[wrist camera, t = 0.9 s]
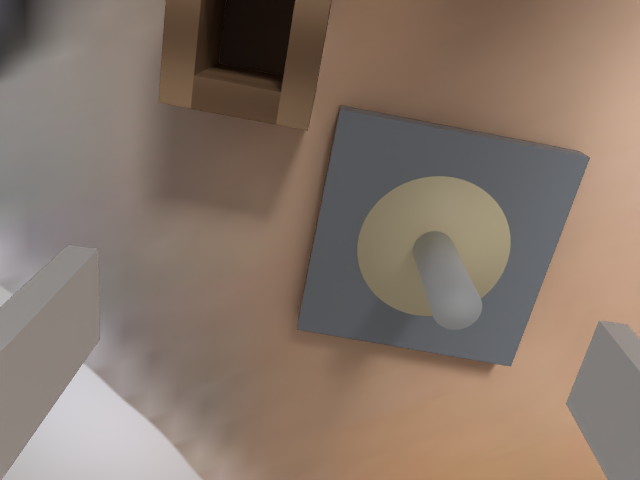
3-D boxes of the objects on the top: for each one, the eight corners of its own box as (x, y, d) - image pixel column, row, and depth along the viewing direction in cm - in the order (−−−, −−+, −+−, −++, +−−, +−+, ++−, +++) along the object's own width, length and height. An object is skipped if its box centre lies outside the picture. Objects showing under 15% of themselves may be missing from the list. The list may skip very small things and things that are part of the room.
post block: (340, 105, 32) (341, 137, 24) (579, 151, 32) (656, 197, 25) (298, 317, 37) (288, 400, 29) (504, 353, 38) (548, 444, 30)
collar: (202, -53, 29) (170, -67, 23) (336, -26, 29) (336, -33, 24) (189, 85, 32) (158, 102, 26) (312, 109, 32) (307, 130, 26)
